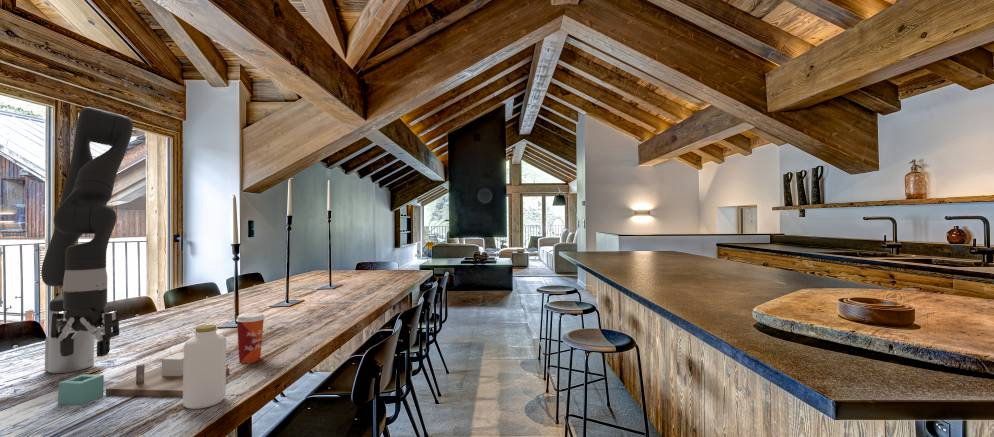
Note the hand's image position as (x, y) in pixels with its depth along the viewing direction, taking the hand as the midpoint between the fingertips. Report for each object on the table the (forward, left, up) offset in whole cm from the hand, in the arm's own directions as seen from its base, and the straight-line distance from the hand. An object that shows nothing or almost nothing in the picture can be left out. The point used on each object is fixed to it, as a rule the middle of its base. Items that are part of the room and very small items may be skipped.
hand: (85, 355), depth 100 cm
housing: (+12, +14, -9) cm, 20 cm away
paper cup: (+22, +30, -11) cm, 38 cm away
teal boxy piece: (0, 0, -10) cm, 10 cm away
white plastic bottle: (+30, 0, -11) cm, 31 cm away
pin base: (+13, +11, -10) cm, 20 cm away
